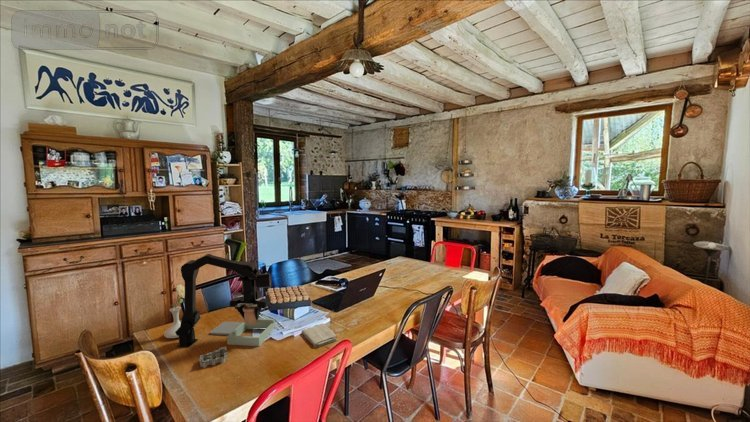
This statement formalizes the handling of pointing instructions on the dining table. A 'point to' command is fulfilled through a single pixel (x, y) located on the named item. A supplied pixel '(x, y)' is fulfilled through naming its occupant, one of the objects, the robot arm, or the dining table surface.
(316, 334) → the washcloth
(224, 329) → the slate tile
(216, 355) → the egg carton
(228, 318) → the dining table surface
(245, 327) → the frame
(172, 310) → the flower in vase
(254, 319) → the terracotta pot
